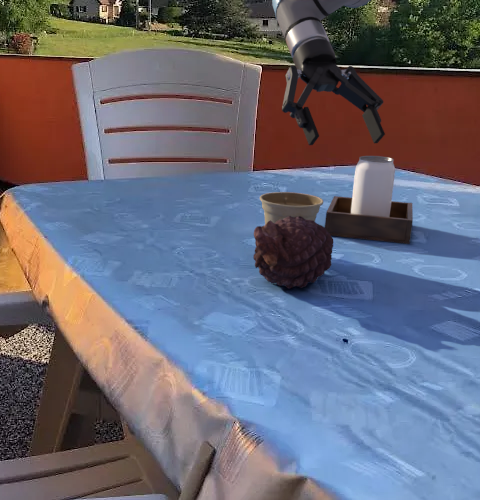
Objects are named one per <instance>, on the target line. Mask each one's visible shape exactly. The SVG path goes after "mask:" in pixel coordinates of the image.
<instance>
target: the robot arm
mask: <svg viewBox="0 0 480 500" xmlns="http://www.w3.org/2000/svg"><path fill="white" fill-rule="evenodd" d="M271 2H272V3H271V5H272V8H273V11H274V16H275V20H276V21H277V23H278V26H279V28H280V30H281V32H282V35H283V37H284V40H285V42H286V46H287V48H288V51H289V54H290V56H291V58H292V61H293V63H294V65H293V64H292V65H290V67H289V68H288V70H287V71H286V74H285V75H284V76H285V81H286V87H285V91H284V95H283V101H282V106H281V111H282V112H283V113H284V114H287V113H289V117H290V118H292V119H295V121H296V123H297V126H298V127H299V129H302V130H303V134H304V136H305V139H306V141H307V144H308V146H313V145H315V143H316V142H317V140H318V139H319V137H320V134H319V131H318V129H317V126H316V123H315V121H314V118H313V116H312V112H311V111H310V108H309V106H305V104H306V102H307V100H308V98H309V97H310V95H311V93H312V91H313V90H314V91H316V92H317V93H320V92H327V93H331V92H332V93H333V94H334V95H336V96H338V95H340V96H341V97H342V98H343V99H345V100H346V101H348V102H349V103H351V104H352V105H353V106H354V107H356V108H357V109H359V110H360V111H362V112H363V113H362V115H361V116H362V119H363V121H364V123H365V126H366V128H367V130H368V133H369V135H370V137H371V140H372V142H373V144H379V142H380V141H381V140H382V139H383V137H385V135H386V132H385V130H384V128H383V126H382V117H381V116H380V114H379V109H380V107H381V106H382V105H383V104H384V100H383V99H382V98H381V96H379V94H378V93H376V92H375V91H374V89H373V88H372V87H370V85H369V84H368V83H367V82H365V80H364V79H363V78H361V76H360V75H359V74H358V72H357V71H356V69H355V68H354V66H352V65H348V66H347V68H346V69H345V68H344V69H341V68H340V67H339V66H338V65H337V56H336V53H335V51H334V48H333V46H332V43H331V42H330V39H329V36H328V34H327V31H326V30H325V28H324V24H323V23H322V20H323V19H325V18H327V17H328V16H330V15H331V14H332V13H334V12H335V11H337V10H339V9H340V8H342V7H344V6H345V7H347V8H349V9H357V8H360V7H364V6H366V5H367V4H368V3H369V2H371V0H271ZM299 79H300V80H301V81H302V82H303V83H304V84H306V85H305V87H304V89H303V90H302V93H301V94H300V96H299V98H298V99H297V101H296V102H295V96H296V91H297V86H298V80H299ZM339 83H340V85H339ZM338 85H339V86H338Z"/></svg>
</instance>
